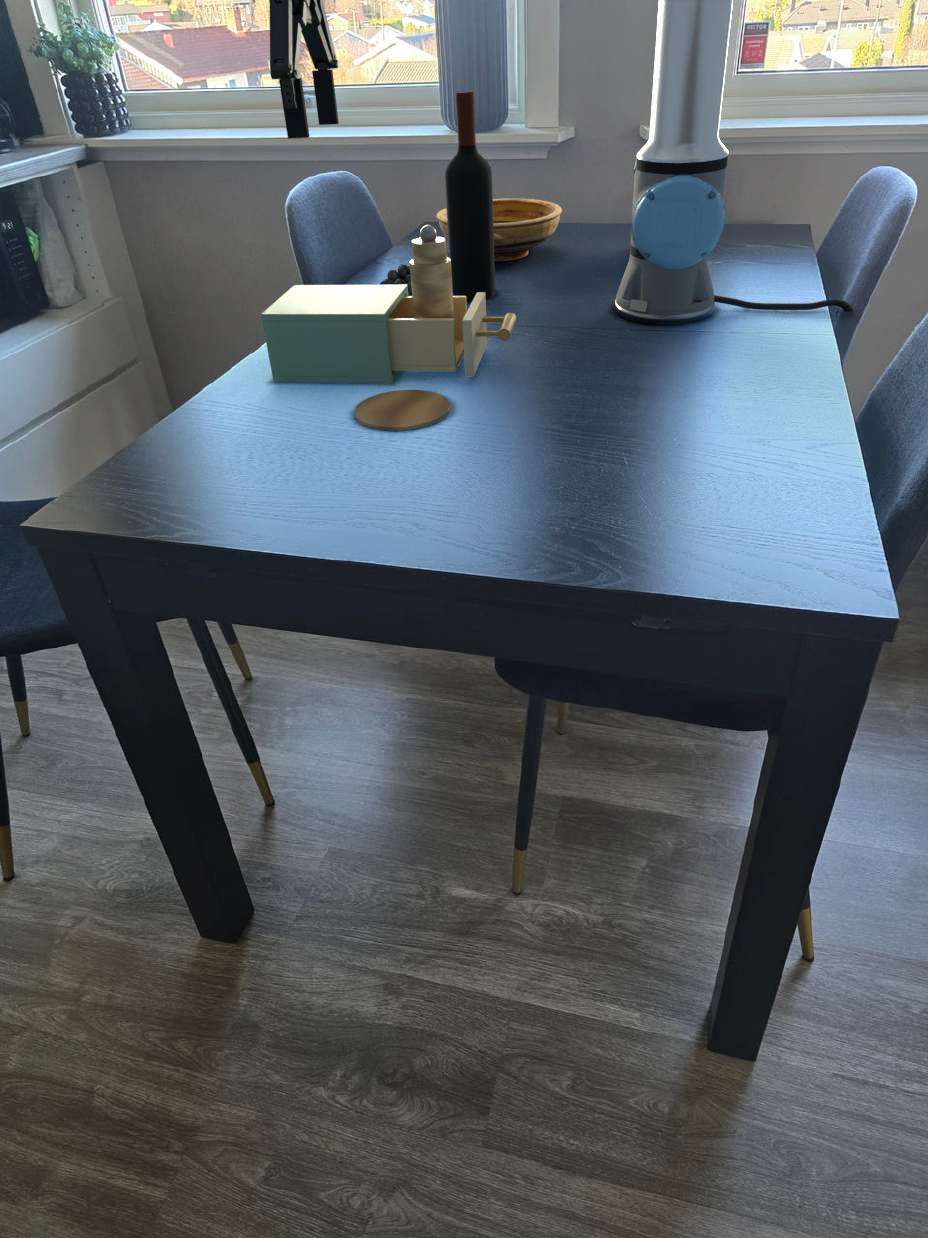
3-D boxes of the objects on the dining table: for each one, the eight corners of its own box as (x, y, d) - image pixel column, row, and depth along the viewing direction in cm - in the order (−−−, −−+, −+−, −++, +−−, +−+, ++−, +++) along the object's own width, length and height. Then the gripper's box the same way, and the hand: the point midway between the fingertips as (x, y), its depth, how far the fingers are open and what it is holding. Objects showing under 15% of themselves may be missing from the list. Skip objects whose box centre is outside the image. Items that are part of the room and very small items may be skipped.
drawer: (519, 344, 123) (518, 291, 119) (508, 376, 113) (507, 319, 109) (382, 344, 126) (377, 292, 122) (360, 375, 116) (353, 319, 112)
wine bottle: (444, 299, 147) (432, 94, 129) (461, 287, 152) (451, 89, 135) (485, 302, 144) (479, 93, 126) (501, 289, 150) (496, 88, 132)
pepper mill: (458, 345, 121) (452, 219, 111) (452, 358, 117) (444, 229, 107) (421, 344, 122) (411, 220, 112) (413, 357, 117) (402, 230, 108)
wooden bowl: (463, 235, 185) (461, 194, 180) (574, 237, 178) (575, 195, 174) (417, 272, 162) (414, 226, 157) (543, 275, 156) (543, 228, 151)
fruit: (390, 279, 124) (429, 251, 135) (344, 295, 128) (385, 266, 139) (412, 337, 128) (449, 305, 139) (367, 350, 132) (406, 318, 143)
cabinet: (413, 349, 127) (407, 284, 121) (391, 383, 116) (384, 313, 110) (304, 348, 129) (294, 284, 124) (273, 382, 118) (260, 314, 113)
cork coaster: (457, 393, 112) (457, 389, 111) (440, 431, 102) (440, 427, 102) (368, 392, 114) (368, 388, 113) (343, 429, 104) (343, 425, 104)
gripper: (291, -63, 115) (315, 119, 127) (218, -73, 95) (255, 144, 107) (345, -67, 114) (364, 118, 126) (283, -78, 94) (313, 142, 106)
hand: (314, 130), depth 117 cm, fingers open, 13 cm apart
